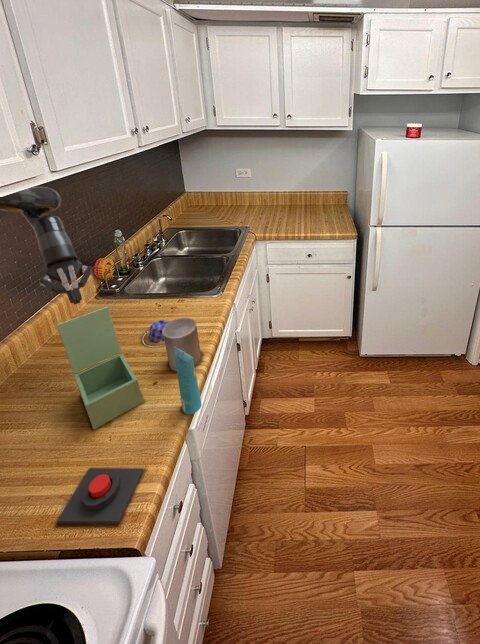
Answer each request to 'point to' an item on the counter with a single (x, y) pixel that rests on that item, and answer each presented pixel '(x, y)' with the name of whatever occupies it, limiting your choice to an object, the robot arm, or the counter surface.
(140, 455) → the counter surface
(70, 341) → the lid
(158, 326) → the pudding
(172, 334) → the pillar candle
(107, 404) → the breadbin
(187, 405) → the tube
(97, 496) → the button
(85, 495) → the button block
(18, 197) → the robot arm
